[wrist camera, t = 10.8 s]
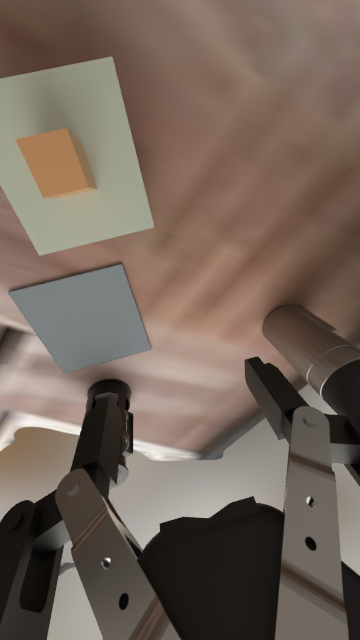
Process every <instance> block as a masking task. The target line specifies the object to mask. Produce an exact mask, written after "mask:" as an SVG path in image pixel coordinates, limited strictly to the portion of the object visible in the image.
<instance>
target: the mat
mask: <svg viewBox="0 0 360 640" xmlns="http://www.w3.org/2000/svg"><path fill="white" fill-rule="evenodd" d="M8 294H9V295H10V296H11V298H12V299H13V301H14V302H15V304H16V305H17V307H18V308H19V309H20V311H21V312H22V314H23V315H24V317H25V318H26V320H27V321H28V322H29V324H30V325H31V327H32V328H33V330H34V331H35V333H36V334H37V335H38V337H39V338H40V340H41V341H42V343H43V344H44V345H45V347H46V348H47V350H48V351H49V353H50V354H51V356H52V357H53V358H54V360H55V361H56V363H57V364H58V366H59V367H60V369H61V370H62V371H63V373H67V372H71V371H75V370H78V369H82V368H86V367H89V366H93V365H97V364H100V363H104V362H108V361H111V360H115V359H118V358H122V357H126V356H129V355H133V354H137V353H140V352H144V351H148V350H151V346H150V343H149V340H148V337H147V334H146V331H145V328H144V326H143V323H142V320H141V317H140V314H139V311H138V308H137V305H136V303H135V300H134V297H133V294H132V291H131V288H130V285H129V282H128V279H127V277H126V274H125V271H124V268H123V265H122V264H118V265H114V266H110V267H106V268H102V269H98V270H94V271H90V272H86V273H82V274H78V275H74V276H70V277H66V278H62V279H58V280H54V281H50V282H46V283H42V284H38V285H34V286H30V287H26V288H22V289H18V290H14V291H10V292H8Z"/></svg>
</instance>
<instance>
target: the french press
mask: <svg viewBox="0 0 360 640" xmlns="http://www.w3.org/2000/svg"><path fill="white" fill-rule="evenodd" d="M106 392H113V393H118V394H119V400H118V404H117V405H118V407H119V409H120V411H121V414H122V431H121V442H120V454H119V466H118V477H117V485H115V486H111V487H109V489H112V488H115V487H117V486H119V485H120V484H122V483H123V482H124V481H125V480H126V479H127V477H128V469H127V467H126V458H125V457H128V456H130V455H131V454H132V453H133V414H132V413H130V412H128V410H129V407H130V397H131V390H130V388H129V386H128V385H127V384H126V383H124V382H122V381H119V380H115V379H106V380H102V381H99V382H97V383H95V384H94V385H92V386H91V387H90V389H89V391H88V399H87V404H86V413H85V417H86V415H87V414H88V412H89V410H92V409H95V405H96V400H95V399H94V397H95V396H96V395H98V394H101V393H106ZM85 417H84V418H85ZM126 423H127V431H126ZM79 438H80V437H79ZM79 438H78V440H79ZM77 444H78V442H77ZM76 448H77V447H76Z"/></svg>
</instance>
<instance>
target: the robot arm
mask: <svg viewBox="0 0 360 640" xmlns="http://www.w3.org/2000/svg"><path fill="white" fill-rule="evenodd" d="M263 334H264V336H265V337H266V338H267V339H268V341H269V342H270V343H271V344H272V345H273V346H274V347H275V348H276V349H277V350H278V351H279V352H280V354H281V355H282V356H283V357H284V358H285V359H286V360H287V361H288V362H289V363H290V364H291V365H292V366H293V367H294V369H295V370H296V371H297V372H298V373H299V374H300V375H301V376H302V377H303V378H304V379H305V380H306V381H307V382H308V384H309V385H310V386H311V387H312V388H313V389H314V390H315V391H316V392H317V393H318V394H319V395H320V396H321V397H322V398H323V400H324V401H325V402H326V403H327V404H328V405H329V406H330V407H331V408H332V409H333V410H334V411H335V412H336V413H337V414H338V415H329V414H324V413H322V412H321V411H319V410H318V409H315V408H313V407H310V406H309V405H308V404H307V403H306V402H305V401H304V399H303V398H302V397H301V396H300V395H299V393H298V392H297V391H296V390H295V388H294V387H293V386H292V385H291V384H290V382H288V380H287V379H286V378H285V376H283V374H282V373H281V371H280V370H279V369H278V368H277V367H275V366H274V365H272V364H270V363H266V364H264V363H263V362H262V361H261V359H260V358H259V357H253V358H249V359H246V360H245V379H246V383H247V385H248V387H249V389H250V391H251V393H252V394H253V396H254V398H255V400H256V401H257V403H258V405H259V406H260V408H261V410H262V412H263V413H264V415H265V417H266V418H267V420H268V422H269V423H270V425H271V427H272V429H273V430H274V432H275V434H276V436H277V437H278V439H279V440H280V439H284V438H286V440H287V441H288V443H289V453H288V464H287V474H286V485H285V494H284V504H283V512H281V511H280V510H278V509H276V508H274V507H272V506H269V505H266V504H261V503H256V502H255V499H254V496H252V497H249V498H245V499H242V500H239V501H236V502H232V503H230V504H229V505H227V506H226V507H224V508H223V509H221V510H220V511H219V512H217V513H216V514H214V515H213V516H212V517H210V518H194V517H181V518H178V519H174V520H171V521H167V522H164V523H161V524H160V532H159V533H158V534H157V535H156V536H155V537H153V538H152V539H151V540H150V542H149V543H148V544H147V545H146V547H145V548H144V550H142V548H141V547H140V545H139V544H138V542H137V541H136V539H135V538H134V536H133V535H132V534H131V532H130V531H129V529H128V528H127V526H126V525H125V523H124V521H123V520H122V518H121V516H120V515H119V513H118V512H117V510H116V508H115V507H114V505H113V503H112V502H111V500H110V499H109V497H108V494H109V487H111V486H115V485H117V477H118V466H119V454H120V442H121V431H122V414H121V411H120V409H119V407H118V405H117V403H116V401H115V399H114V397H113V396H112V395H107V396H104V397H100V398H98V399H97V401H96V405H95V409H92V410H89V412H88V414H87V415H86V417H85V418H84V421H83V425H82V430H81V432H80V436H79V437H80V438H79V440H78V444H77V448H76V452H75V455H74V459H73V463H72V467H71V470H70V472H69V473H68V474H67V475H66V476H65V477H64V478H63V479H62V480H61V482H60V483H59V485H58V487H57V489H56V490H55V491H53V492H52V493H50V494H48V495H47V496H45V497H44V498H42V499H41V500H39V501H37V502H36V503H33V502H31V501H29V500H25V501H22V502H19V503H18V504H16V505H15V506H13V507H12V508H11V509H10V510H9V511H8V512H7V513H6V515H5V516H4V517H3V519H2V520H1V522H0V640H47V635H48V629H49V624H50V618H51V613H52V608H53V602H54V597H55V591H56V586H57V580H58V575H59V570H60V564H61V559H62V553H63V548H64V544H65V543H67V542H68V541H70V540H71V541H72V544H73V547H72V548H71V554H72V558H73V561H74V563H75V566H76V569H77V571H78V574H79V576H80V579H81V582H82V584H83V587H84V589H85V592H86V595H87V597H88V600H89V602H90V605H91V607H92V610H93V613H94V616H95V618H96V621H97V623H98V626H99V629H100V631H101V634H102V637H103V640H360V576H359V575H358V574H357V573H356V572H354V571H353V570H352V569H351V568H350V567H348V566H347V565H346V564H345V563H344V562H343V561H341V556H340V542H339V526H338V510H337V495H336V480H335V474H334V472H333V471H332V467H331V462H332V463H343V464H344V465H345V467H346V468H347V469H348V471H349V472H350V474H351V475H352V476H353V478H354V479H355V481H356V482H357V483H358V485H359V486H360V350H359V349H358V348H356V347H354V346H353V345H352V344H350V343H349V342H347V341H346V340H344V339H343V338H341V337H340V336H338V330H337V329H335V328H334V327H332V326H331V325H329V324H328V323H326V322H325V321H323V320H322V319H320V318H319V317H317V316H316V315H314V314H313V313H311V312H310V311H308V310H306V309H305V308H303V307H299V308H298V307H295V306H292V305H286V306H282V307H280V308H277V309H276V310H274V311H273V312H272V313H271V314H270V315H269V316H268V317H267V318H266V320H265V322H264V324H263Z"/></svg>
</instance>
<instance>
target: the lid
mask: <svg viewBox="0 0 360 640" xmlns="http://www.w3.org/2000/svg"><path fill="white" fill-rule="evenodd" d="M0 186H1V187H2V189H3V191H4V193H5V195H6V196H7V198H8V200H9V202H10V204H11V205H12V207H13V209H14V211H15V213H16V214H17V216H18V218H19V220H20V222H21V223H22V225H23V227H24V229H25V231H26V232H27V234H28V236H29V238H30V240H31V241H32V243H33V245H34V247H35V249H36V250H37V252H38V254H39V256H40V255H44V254H48V253H53V252H57V251H61V250H65V249H69V248H73V247H77V246H81V245H85V244H89V243H93V242H97V241H101V240H105V239H109V238H113V237H117V236H122V235H126V234H130V233H134V232H138V231H142V230H146V229H150V228H154V224H153V220H152V216H151V212H150V208H149V204H148V200H147V196H146V192H145V187H144V183H143V179H142V175H141V171H140V167H139V163H138V159H137V155H136V151H135V147H134V143H133V139H132V135H131V131H130V126H129V122H128V118H127V114H126V110H125V106H124V102H123V98H122V94H121V90H120V86H119V82H118V78H117V74H116V70H115V65H114V61H113V57H107V58H102V59H97V60H92V61H87V62H82V63H77V64H72V65H67V66H62V67H57V68H52V69H46V70H41V71H36V72H31V73H26V74H21V75H16V76H11V77H6V78H1V79H0Z"/></svg>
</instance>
